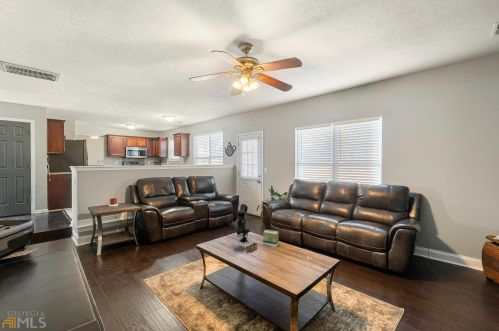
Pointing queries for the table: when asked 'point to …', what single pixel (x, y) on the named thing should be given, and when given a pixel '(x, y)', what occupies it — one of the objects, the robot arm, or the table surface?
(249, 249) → the walnut box
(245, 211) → the robot arm
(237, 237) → the lid
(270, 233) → the tea box
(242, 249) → the slate mat
